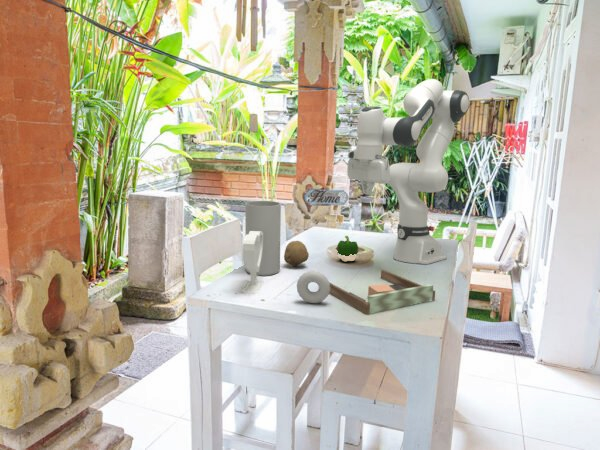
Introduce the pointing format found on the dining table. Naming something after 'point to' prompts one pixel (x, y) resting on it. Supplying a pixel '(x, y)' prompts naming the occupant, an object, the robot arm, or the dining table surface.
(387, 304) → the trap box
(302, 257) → the natural sponge
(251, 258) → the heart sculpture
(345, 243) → the bell pepper
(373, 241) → the dining table surface
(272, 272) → the cylinder vase
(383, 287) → the terracotta block
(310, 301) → the donut
